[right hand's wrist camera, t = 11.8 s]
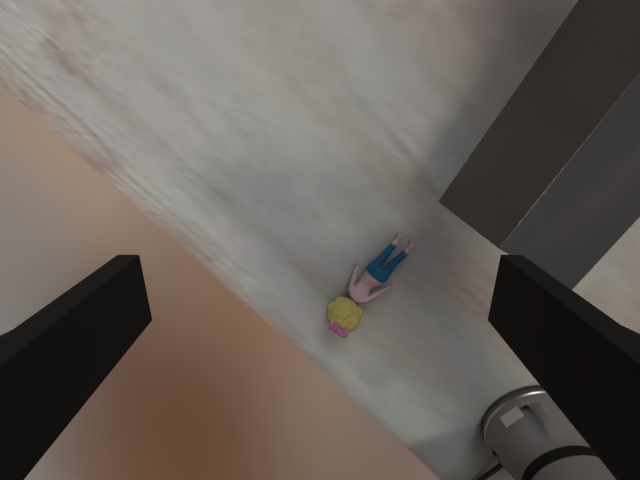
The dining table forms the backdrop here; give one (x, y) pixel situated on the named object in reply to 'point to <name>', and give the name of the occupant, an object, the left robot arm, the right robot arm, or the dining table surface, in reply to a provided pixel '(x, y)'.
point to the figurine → (363, 290)
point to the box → (563, 148)
